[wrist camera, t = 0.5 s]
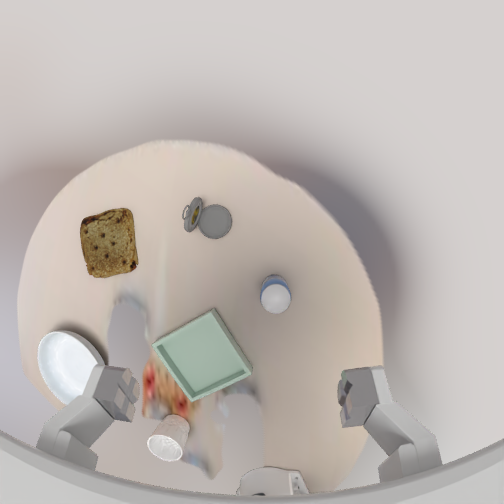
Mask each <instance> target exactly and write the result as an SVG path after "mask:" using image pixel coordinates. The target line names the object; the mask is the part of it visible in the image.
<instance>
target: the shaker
mask: <svg viewBox="0 0 504 504" xmlns="http://www.w3.org/2000/svg"><path fill="white" fill-rule="evenodd" d="M260 300H261V304H262V305H263V307H264V308H265V310H267V311H268V312H270V313H274V314H278V313H282V312H283V311H285V310H286V309H287V308H288V307H289V304H290V301H291V293H290V290H289V288H288V285H287V283H286V281H285V280H284V278H282V277H281V276H278V275H271V276H268V277H267V278H266V279H265V280H264V281H263V284H262V288H261V295H260Z"/></svg>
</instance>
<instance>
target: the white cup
mask: <svg viewBox="0 0 504 504" xmlns="http://www.w3.org/2000/svg"><path fill="white" fill-rule="evenodd" d="M189 430H190V426H189V423H188V422H187V421H186V420H185V419H184V418H183V417H181V416H179V415H174V414H172V415H168V416H166V417H165V418H164V419H163V421H162V422H161V423H160V424H159V426H158V427H157V428H156V430H155V431H154V433H153V434H152V435H151V437H150V438H149V439H148V447H149V450H150V451H151V452H152V453H153V454H154V455H155V456H156V457H158V458H160V459H162V460H166V461H176V460H178V459H180V458H181V456H182V453H183V450H184V447H185V445H186V441H187V438H188V433H189Z"/></svg>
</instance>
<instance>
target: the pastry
mask: <svg viewBox="0 0 504 504" xmlns="http://www.w3.org/2000/svg"><path fill="white" fill-rule="evenodd" d="M80 238H81V244H82V245H81V246H82V250H83V255H84V259H85V262H86V263H87V265H86V266H87V270H88V273H89V275H93V276H94V277H96V278H99V277H101V278H107V277H110V276H113V275H117V274H122V273H128V272H131V271H132V270H134V269H135V268H136V267H137V266H136V264H137V265H138V257H137V251H136V247H135V231H134V221H133V216H132V213H131V211H130V210H128V209H125V208H120V209H112V210H108V211H105V212H103V213H101V214H98V215H94V216H89V217H86V218H84V219H83V221H82V223H81V227H80Z"/></svg>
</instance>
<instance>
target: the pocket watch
mask: <svg viewBox="0 0 504 504" xmlns="http://www.w3.org/2000/svg"><path fill="white" fill-rule="evenodd" d="M187 207H188V210H187V212H186V217H185V218H184V211H185V209H186V208H187ZM184 211H183V214H182V218H183V219H184V220H185V222H184V229H185V230H186V231H187V232H191V231H193V229H194V228H195V227H196V225H197V223H198V226H199V229H200V231H201V232H202V234H203V235H204V236H206V237H208V238H212V239H218V238H221V237H223V236H224V235H226V234H227V233H228V231H229V230H230V228H231V223H232V220H231V215H230V213H229V212H228V210H227V209H226V208H224V207H222V206H220V205H210V206H208V207H206V208H204V209H203V210H202V199H201V198H199V197H198V198H197V197H196V198H194V199H193V201H192V202H191V204H190V206H189V205H187V206H186V207H185V208H184Z"/></svg>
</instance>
